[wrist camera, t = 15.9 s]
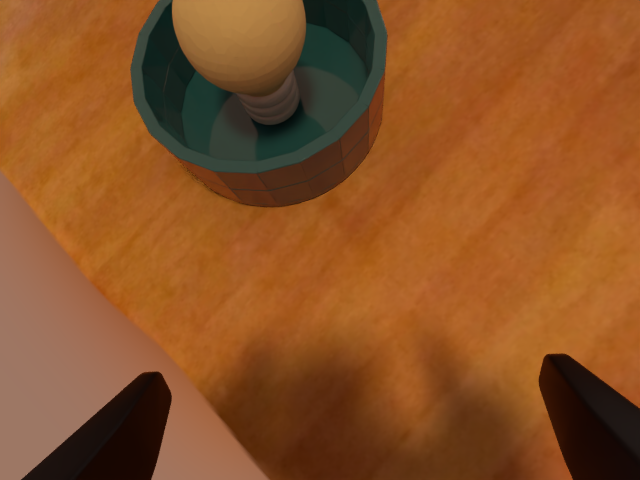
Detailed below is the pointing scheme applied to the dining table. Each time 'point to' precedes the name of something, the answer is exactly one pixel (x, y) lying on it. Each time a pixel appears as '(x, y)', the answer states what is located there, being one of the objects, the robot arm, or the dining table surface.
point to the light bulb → (246, 50)
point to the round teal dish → (279, 139)
